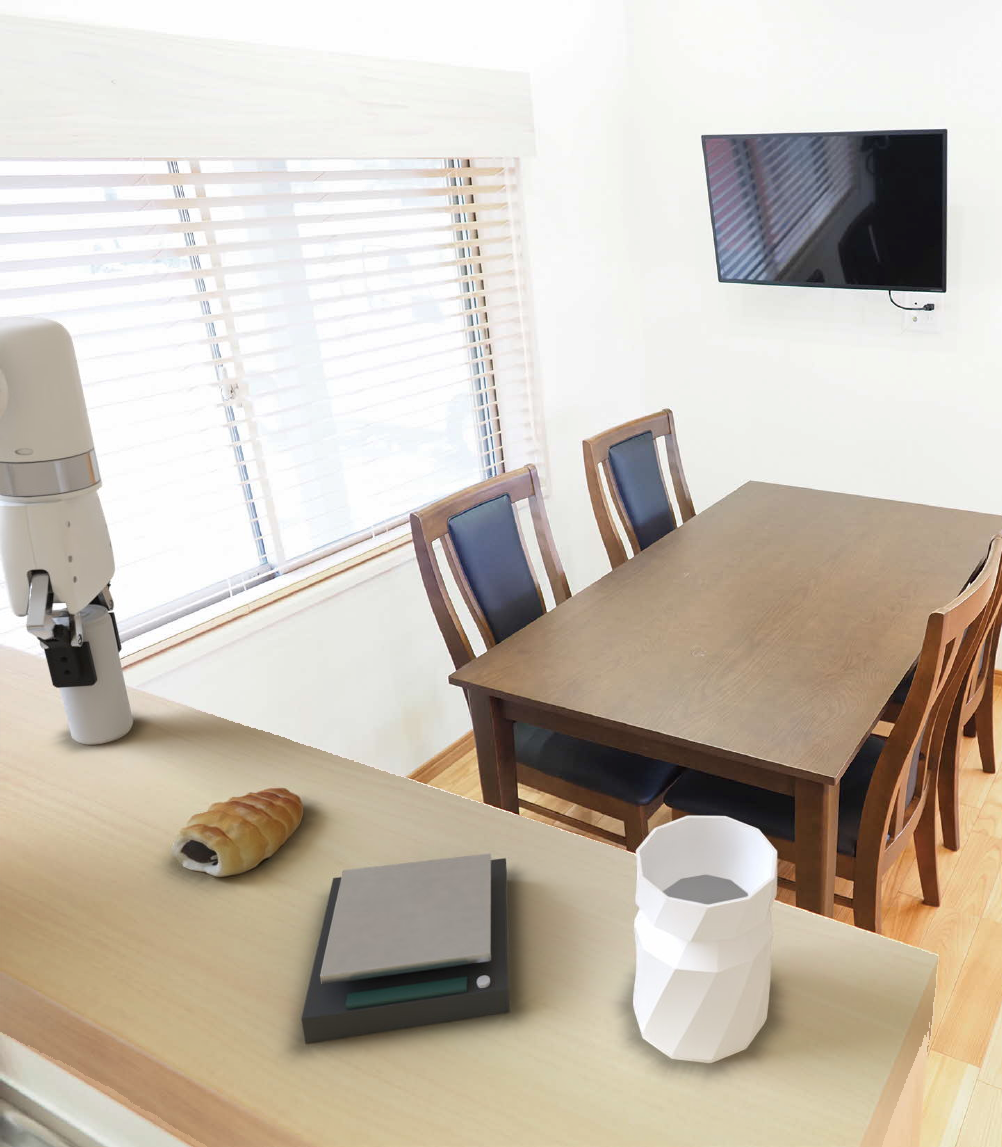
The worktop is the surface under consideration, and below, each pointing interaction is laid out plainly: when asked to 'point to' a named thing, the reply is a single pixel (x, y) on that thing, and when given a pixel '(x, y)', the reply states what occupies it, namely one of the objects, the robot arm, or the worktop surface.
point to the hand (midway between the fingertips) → (88, 667)
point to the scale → (411, 985)
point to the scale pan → (410, 919)
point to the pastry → (238, 832)
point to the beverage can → (98, 685)
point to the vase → (703, 936)
